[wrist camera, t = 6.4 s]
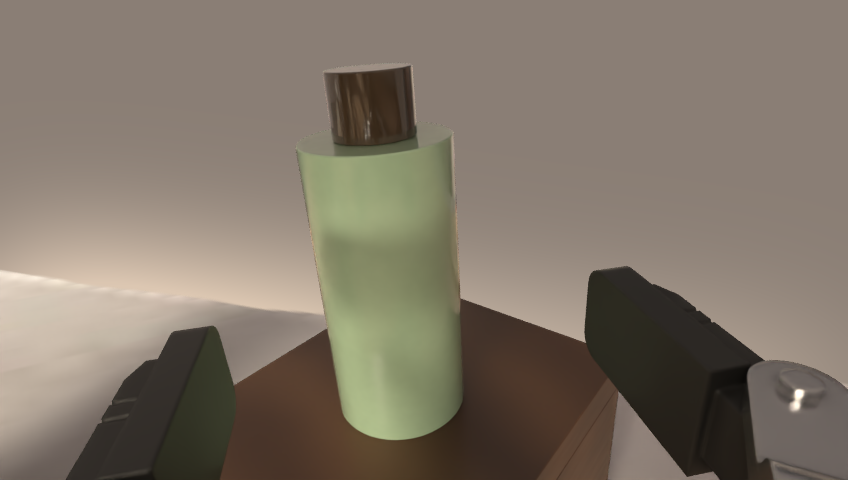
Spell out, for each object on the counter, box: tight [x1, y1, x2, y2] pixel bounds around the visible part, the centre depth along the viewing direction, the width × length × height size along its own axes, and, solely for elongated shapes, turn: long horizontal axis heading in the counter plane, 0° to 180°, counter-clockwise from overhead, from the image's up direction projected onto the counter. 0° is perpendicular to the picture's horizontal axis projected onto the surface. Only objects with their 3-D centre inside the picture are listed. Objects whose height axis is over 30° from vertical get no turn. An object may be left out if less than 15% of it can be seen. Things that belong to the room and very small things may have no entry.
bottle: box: [296, 63, 464, 440], centre depth 17 cm, size 5×5×12 cm
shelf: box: [220, 298, 618, 480], centre depth 21 cm, size 14×12×9 cm
